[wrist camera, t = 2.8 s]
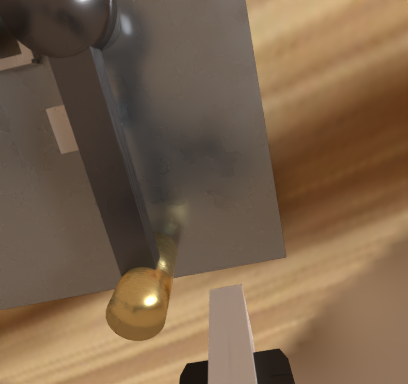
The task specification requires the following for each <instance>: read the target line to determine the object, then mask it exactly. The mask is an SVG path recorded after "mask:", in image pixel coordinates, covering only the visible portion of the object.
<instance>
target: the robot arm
mask: <svg viewBox="0 0 408 384" xmlns="http://www.w3.org/2000/svg"><path fill="white" fill-rule="evenodd" d="M179 384H295V382H294V379H293V375H292V372H291V368H290V364H289V361H288V358H287V357H286V356H285V355H284V353H283V352H282V351H281V350H280V349H273V350H266V351H260V352H255V349H254V342H253V336H252V331H251V326H250V321H249V316H248V312H247V307H246V302H245V297H244V293H243V288H242V284H240V285H234V286H228V287H222V288H217V289H211V290H210V296H209V354H208V360H207V361H201V362H194V363H188V364H186V366H185V368H184V370H183V372H182V374H181V375H180V383H179Z"/></svg>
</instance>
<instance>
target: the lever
mask: <svg viewBox="0 0 408 384" xmlns="http://www.w3.org/2000/svg"><path fill="white" fill-rule="evenodd" d="M0 16H1V18H2V20H3V22H4V24H5V25H6V27H7V28H8V30H9V31H10V32H11V34H12V35H13V36H14V37H15V38H16V39H17V40H18V41H19V42H20V43H21V44H23V45H24V46H26V47H27V48H28V49H30V50H32V51H34V52H36V53H39V54H41V55H45V56H47V57H48V60H49V63H50V66H51V68H52V71H53V74H54V77H55V80H56V83H57V86H58V89H59V92H60V95H61V98H62V101H63V104H64V105H61V106H57V107H52V108H48V109H46V112H47V115H48V117H49V120H50V123H51V126H52V129H53V132H54V134H55V137H56V140H57V143H58V146H59V149H60V151H61V154H63V153H68V152H72V151H77V150H79V152H80V155H81V158H82V161H83V164H84V167H85V170H86V173H87V176H88V179H89V182H90V185H91V188H92V191H93V194H94V197H95V200H96V203H97V206H98V209H99V212H100V214H101V217H102V220H103V223H104V226H105V229H106V232H107V235H108V238H109V241H110V244H111V247H112V250H113V253H114V256H115V259H116V262H117V265H118V268H119V271H120V274H121V278H120V280H119V282H118V284H117V287H116V289H115V291H114V293H113V295H112V297H111V299H110V302H109V304H108V306H107V309H106V319H107V322H108V324H109V326H110V328H111V329H112V330H113V331H114V332H115V333H116V334H118V335H119V336H121V337H123V338H125V339H128V340H133V341H143V340H147V339H150V338H152V337H154V336H156V335H157V334H158V333H159V332H160V331H161V330H162V328H163V327H164V324H165V320H166V315H167V309H168V304H169V299H170V293H171V288H172V283H173V277H174V272H175V266H176V261H177V256H178V249H177V246H176V244H175V242H174V241H173V240H172V239H171V238H170V237H169V236H167V235H165V234H163V233H158V232H153V230H152V226H151V223H150V220H149V216H148V213H147V209H146V206H145V202H144V199H143V195H142V192H141V188H140V185H139V182H138V178H137V175H136V171H135V168H134V164H133V161H132V157H131V154H130V150H129V147H128V143H127V140H126V137H125V133H124V130H123V126H122V123H121V119H120V116H119V112H118V109H117V105H116V102H115V98H114V95H113V92H112V88H111V85H110V81H109V78H108V74H107V71H106V67H105V64H104V60H103V57H102V53H101V50H102V49H103V48H104V47H105V46H106V44H107V43H108V42H109V40H110V38H111V37H112V34H113V32H114V29H115V26H116V21H117V2H116V0H0Z"/></svg>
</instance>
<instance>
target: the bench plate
mask: <svg viewBox="0 0 408 384" xmlns="http://www.w3.org/2000/svg"><path fill="white" fill-rule="evenodd" d="M116 2H117V21H116V26H115V29H114V32H113V34H112V37H111V38H110V40H109V42H108V43H107V44H106V46H105V47H104V48H103V49H102V50H101V53H102V57H103V60H104V64H105V67H106V71H107V74H108V78H109V81H110V85H111V88H112V92H113V95H114V98H115V102H116V105H117V109H118V112H119V116H120V119H121V123H122V126H123V130H124V133H125V137H126V140H127V143H128V147H129V150H130V154H131V157H132V161H133V164H134V168H135V171H136V175H137V178H138V182H139V185H140V188H141V192H142V195H143V199H144V202H145V206H146V209H147V213H148V216H149V220H150V223H151V226H152V230H153V232H158V233H163V234H165V235H167V236H169V237H170V238H171V239H172V240H173V241H174V242H175V244H176V246H177V249H178V256H177V261H176V266H175V272H174V277H173V278H177V277H182V276H188V275H193V274H198V273H204V272H209V271H215V270H220V269H226V268H231V267H236V266H242V265H247V264H253V263H258V262H263V261H269V260H274V259H280V258H285V257H286V252H285V245H284V239H283V233H282V226H281V220H280V214H279V208H278V201H277V195H276V189H275V183H274V176H273V170H272V164H271V158H270V151H269V145H268V139H267V133H266V126H265V120H264V114H263V108H262V101H261V95H260V89H259V83H258V76H257V70H256V64H255V58H254V51H253V45H252V39H251V32H250V26H249V20H248V14H247V7H246V1H245V0H116ZM61 105H64V104H63V101H62V98H61V95H60V92H59V89H58V86H57V83H56V80H55V77H54V74H53V71H52V68H51V66H50V63H49V60H48V57H47V56H45V55H41V54H39V53H36V52H34V51H32V50H30V49H28V48H27V47H26V46H24V45H23V44H21V43H20V42H19V41H18V40H17V39H16V38H15V37H14V36H13V35H12V34H11V32H10V31H9V30H8V28H7V27H6V25H5V24H4V22H3V20H2V18H1V16H0V310H4V309H9V308H14V307H20V306H25V305H31V304H36V303H41V302H47V301H52V300H58V299H63V298H69V297H74V296H79V295H85V294H90V293H96V292H101V291H106V290H112V289H116V287H117V284H118V282H119V280H120V278H121V274H120V271H119V268H118V265H117V262H116V259H115V256H114V253H113V250H112V247H111V244H110V241H109V238H108V235H107V232H106V229H105V226H104V223H103V220H102V217H101V214H100V212H99V209H98V206H97V203H96V200H95V197H94V194H93V191H92V188H91V185H90V182H89V179H88V176H87V173H86V170H85V167H84V164H83V161H82V158H81V155H80V152H79V150H77V151H72V152H68V153H63V154H61V151H60V149H59V146H58V143H57V140H56V137H55V134H54V132H53V129H52V126H51V123H50V120H49V117H48V115H47V112H46V109H48V108H52V107H57V106H61Z"/></svg>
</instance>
